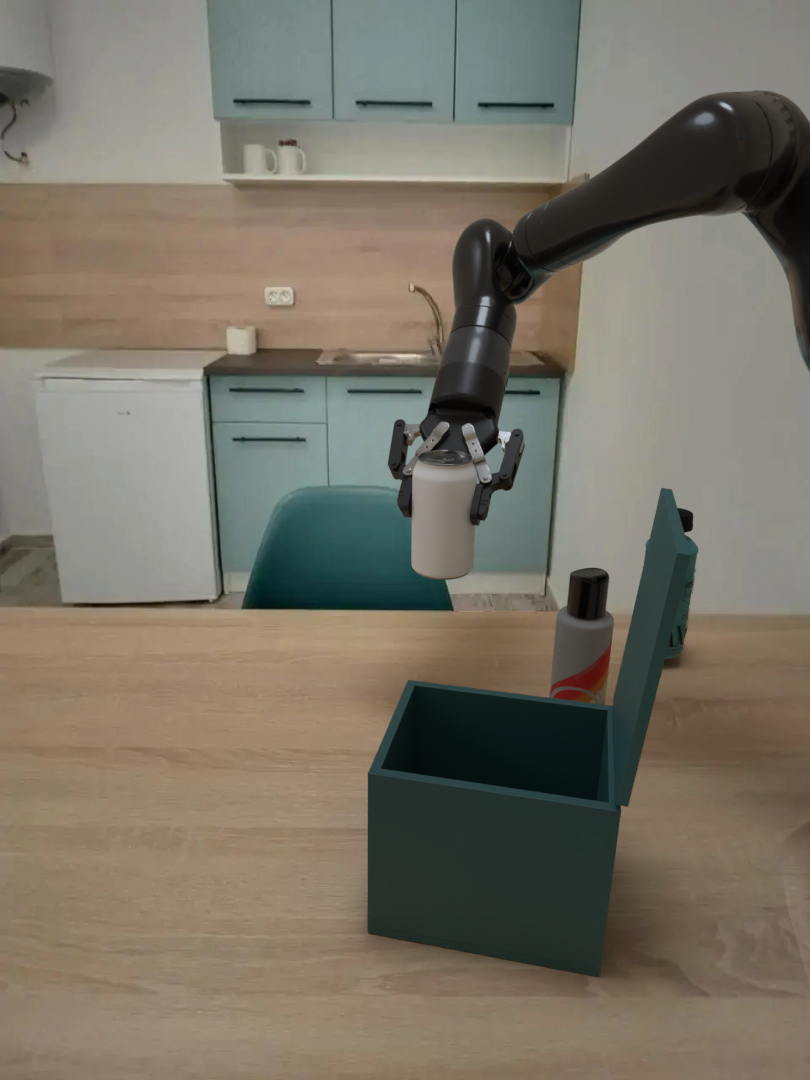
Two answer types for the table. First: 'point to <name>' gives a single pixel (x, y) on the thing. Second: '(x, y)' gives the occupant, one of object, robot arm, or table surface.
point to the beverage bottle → (683, 591)
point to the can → (443, 515)
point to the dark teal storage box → (494, 825)
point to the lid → (648, 640)
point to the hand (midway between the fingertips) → (439, 517)
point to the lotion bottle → (583, 640)
